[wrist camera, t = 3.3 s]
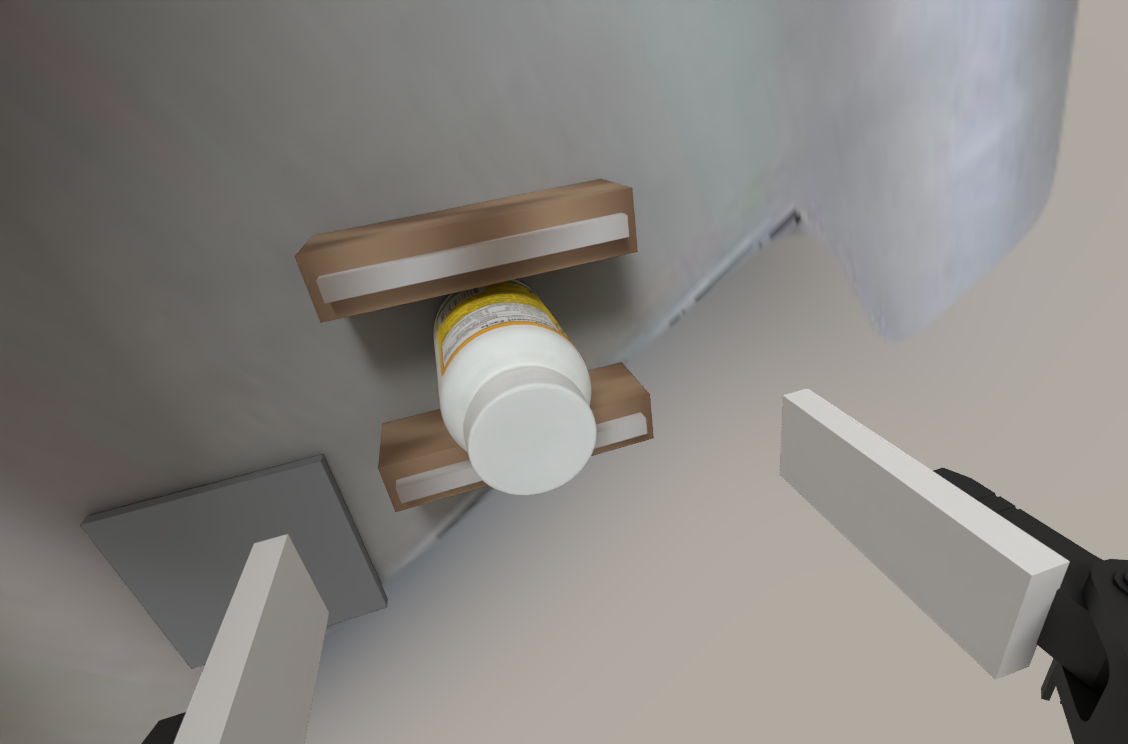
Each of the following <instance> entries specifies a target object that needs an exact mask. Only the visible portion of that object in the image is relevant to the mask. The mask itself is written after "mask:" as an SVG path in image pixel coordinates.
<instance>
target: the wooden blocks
mask: <svg viewBox="0 0 1128 744" xmlns="http://www.w3.org/2000/svg"><path fill="white" fill-rule="evenodd" d="M634 252H638V250H637V239H636V227H635V215H634V204H633V192H632V188H631V187H627V186H624V185H621V184H617V183H614V182H610V181H607V180H604V179H598V180H593V181H588V182H583V183H578V184H573V185H568V186H563V187H558V188H553V189H548V190H543V191H538V192H533V193H528V194H523V195H517V196H512V197H507V198H502V199H497V200H492V201H487V202H482V203H477V204H472V205H467V206H462V207H457V208H452V209H447V210H442V211H437V212H432V213H427V214H422V215H416V216H411V217H406V218H401V219H396V220H391V221H386V222H381V223H376V224H371V225H366V226H361V227H356V228H351V229H346V230H341V231H336V232H331V233H326V234H320V235H315V236H312V237H311V239H310V240H309V241H308V242H307V243H306V244H305V245H304V246H303V248H302V249H301V250H300V251H299V252H298V253H297V254H296V255H295V258H296V261H297V263H298V266H299V269H300V271H301V274H302V276H303V279H304V281H305V284H306V286H307V289H308V291H309V294H310V296H311V299H312V302H313V304H314V307H315V309H316V312H317V314H318V317H319V319H320V322H321V323H322V322H326V321H331V320H335V319H340V318H344V317H348V316H353V315H357V314H362V313H366V312H371V311H375V310H380V309H384V308H389V307H393V306H398V305H402V304H406V303H411V302H415V301H420V300H424V299H429V298H433V297H438V296H442V295H447V294H451V293H456V292H460V291H464V290H469V289H473V288H478V287H482V286H487V285H491V284H496V283H500V282H505V281H509V280H514V279H518V278H522V277H527V276H531V275H536V274H540V273H545V272H549V271H554V270H558V269H563V268H567V267H572V266H576V265H580V264H585V263H589V262H594V261H598V260H603V259H607V258H612V257H616V256H621V255H625V254H630V253H634ZM588 373H589V376H590V381H591V401H590V408H591V410H592V413H593V415H594V418H595V422H596V428H597V434H596V443H595V447H594V450H593V452H592V455H591V456H593V455H596V454H600V453H603V452H607V451H610V450H614V449H617V448H621V447H624V446H628V445H631V444H635V443H638V442H642V441H645V440H649V439H652V438H654V437H653V426H652V414H651V402H650V394H649V393H648V392H647V390H646V389H645V388H644V387H643V386H642V385H641V384H640V382H639V381H638V380H637V379H636V378H635V377H634V376H633V374H632V373H631V372H630V371H629V370H628V369H627V368H626V367H625V365H624V364H623V363H622V362H620V363H617V364H613V365H609V366H605V367H601V368H597V369H593V370H590V371H588ZM378 469H379V471H380V474H381V477H382V479H383V482H384V484H385V487H386V489H387V492H388V494H389V497H390V499H391V502H392V504H393V507H394V509H395V512H398V511H401V510H405V509H408V508H412V507H415V506H419V505H422V504H426V503H429V502H432V501H436V500H439V499H443V498H446V497H450V496H453V495H457V494H460V493H464V492H467V491H471V490H474V489H478V488H481V487H485V486H488V484H486V483H485V482H484V481H483V480H482V479H481V478H480V477H479V476H478V475H477V473H476V472H475V470H474V468H473V467H472V465H471V462H470V459H469V456H468V452H466V451H465V450H464V449H463V448H462V447H460V446H459V445H458V444H457V442H456V441H455V440H454V439H453V437H452V436H451V435H450V433H449V431H448V430H447V428H446V426H445V423H444V421H443V418H442V414H441V409H439V410H435V411H431V412H427V413H424V414H420V415H416V416H412V417H408V418H404V419H400V420H396V421H393V422H389V423H385V424H383V425H382V435H381V445H380V455H379V465H378Z"/></svg>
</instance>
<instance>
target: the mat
mask: <svg viewBox="0 0 1128 744" xmlns="http://www.w3.org/2000/svg"><path fill="white" fill-rule="evenodd" d="M80 526H81V527H82V529H83V530H84V531H85V532H86V534H87V535H88V536H89V538H90V539H91V540H92V541H93V543H94V544H95V545H96V547H97V548H98V549H99V550H100V552H101V553H102V554H103V556H104V557H105V558H106V559H107V561H108V562H109V563H110V565H111V566H112V567H113V569H114V570H115V571H116V572H117V574H118V575H119V576H120V578H121V579H122V580H123V581H124V583H125V584H126V585H127V587H128V588H129V589H130V590H131V592H132V593H133V594H134V596H135V597H136V598H137V600H138V601H139V602H140V603H141V605H142V606H143V607H144V609H145V610H146V611H147V612H148V614H149V615H150V616H151V618H152V619H153V620H154V621H155V623H156V624H157V625H158V627H159V628H160V629H161V630H162V632H163V633H164V634H165V636H166V637H167V638H168V640H169V641H170V642H171V643H172V645H173V646H174V647H175V649H176V650H177V651H178V652H179V654H180V655H181V656H182V658H183V659H184V660H185V661H186V663H187V664H188V665H189V667H190V668H191V669H193V668H196V667H199V666H202V665H205V664H206V661H207V659H208V657H209V654H210V652H211V649H212V647H213V644H214V642H215V639H216V637H217V634H218V632H219V629H220V627H221V624H222V622H223V619H224V617H225V614H226V612H227V609H228V607H229V604H230V602H231V599H232V597H233V594H234V592H235V589H236V587H237V584H238V582H239V579H240V577H241V574H242V572H243V569H244V567H245V565H246V562H247V560H248V557H249V555H250V552H251V550H252V547H253V545H254V543H257V542H261V541H265V540H268V539H272V538H275V537H279V536H282V535H286V534H288V535H289V537H290V539H291V541H292V543H293V545H294V547H295V549H296V550H297V552H298V554H299V556H300V558H301V560H302V562H303V564H304V566H305V568H306V570H307V572H308V573H309V575H310V577H311V579H312V581H313V583H314V585H315V587H316V589H317V591H318V593H319V595H320V596H321V598H322V600H323V602H324V604H325V606H326V608H327V610H328V612H329V615H328V621H327V626H329V625H333V624H336V623H339V622H342V621H345V620H348V619H351V618H355V617H358V616H361V615H364V614H368V613H370V612H374V611H377V610H380V609H383V608H386V607H387V601H388V599H387V596H386V594H385V592H384V590H383V587H382V585H381V583H380V581H379V578H378V576H377V574H376V572H375V569H374V567H373V565H372V563H371V560H370V558H369V556H368V554H367V552H366V549H365V547H364V545H363V543H362V540H361V538H360V536H359V534H358V531H357V529H356V527H355V525H354V523H353V520H352V518H351V516H350V514H349V511H348V509H347V507H346V505H345V503H344V500H343V498H342V496H341V494H340V491H339V489H338V487H337V485H336V482H335V480H334V478H333V476H332V474H331V471H330V469H329V467H328V465H327V462H326V460H325V458H324V456H323V454H321V455H318V456H314V457H310V458H306V459H302V460H299V461H295V462H291V463H287V464H283V465H280V466H276V467H272V468H268V469H265V470H261V471H257V472H253V473H249V474H246V475H242V476H238V477H234V478H230V479H227V480H223V481H219V482H215V483H211V484H208V485H204V486H200V487H196V488H192V489H189V490H185V491H181V492H177V493H173V494H170V495H166V496H162V497H158V498H154V499H151V500H147V501H143V502H139V503H135V504H132V505H128V506H124V507H120V508H116V509H113V510H109V511H105V512H101V513H97V514H94V515H90V516H87V517H86V519H85V520H84V521H83V522H82V523H81V525H80Z"/></svg>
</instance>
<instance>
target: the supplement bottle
mask: <svg viewBox="0 0 1128 744" xmlns="http://www.w3.org/2000/svg"><path fill="white" fill-rule="evenodd" d="M434 347H435V357H436V367H437V378H438V391H439V402H440V409H441V414H442V418H443V421H444V423H445V426H446V428H447V430H448V431H449V433H450V435H451V436H452V437H453V439H454V440H455V441H456V442H457V444H458V445H459V446H460V447H462V448H463V449H464V450H465V451H466V452H468V456H469V459H470V462H471V465H472V467H473V468H474V470H475V472H476V473H477V475H478V476H479V477H480V478H481V479H482V480H483V481H484V482H485V483H486V484H488V485H489V486H491V487H492V488H494V489H496V490H499V491H501V492H504V493H508V494H512V495H521V496H523V495H536V494H542V493H545V492H548V491H551V490H554V489H556V488H558V487H561V486H562V485H564V484H566V483H567V482H569V481H570V480H571V479H572V478H574V477H575V476H576V475H577V474H578V473H579V472H580V471H581V470H582V469H583V468H584V466H585V465H586V463H587V462H588V460H589V458H590V457H591V455H592V452H593V450H594V447H595V443H596V434H597V428H596V422H595V418H594V415H593V413H592V410H591V408H590V401H591V381H590V376H589V373H588V369H587V367H586V365H585V363H584V360H583V359H582V357H581V355H580V353H579V352H578V350H577V349H576V348H575V346H574V344H573V343H572V342H571V341H570V340H569V338H568V337H567V335H566V334H565V332H564V331H563V330H562V328H561V327H560V325H559V324H558V323H557V321H556V320H555V318H554V317H553V316H552V314H551V313H550V311H549V310H548V308H547V307H546V306H545V305H544V303H543V302H542V301H541V300H540V298H539V297H538V296H537V295H536V293H535V292H534V291H532V290H531V289H530V288H529V287H528V286H526V285H525V284H523V283H521V282H519V281H517V280H509V281H505V282H500V283H496V284H491V285H487V286H482V287H478V288H473V289H469V290H464V291H460V292H456V293H451V294H450V295H449V296H448V297H447V298H446V299H445V301H444V302H443V304H442V305H441V307H440V309H439V311H438V313H437V316H436V319H435V324H434Z"/></svg>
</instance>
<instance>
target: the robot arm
mask: <svg viewBox="0 0 1128 744" xmlns="http://www.w3.org/2000/svg"><path fill="white" fill-rule="evenodd" d="M780 476H782V477H783V478H784V479H785V480H786V481H787V482H788V483H789V484H790V485H791V486H792V487H793V488H794V489H795V490H796V491H797V492H798V493H800V495H802V497H804V498H805V499H806V500H807V501H808V502H809V503H810V504H811V505H812V506H813V507H814V508H815V509H816V510H817V511H819V513H820V514H821V515H822V516H824V517H825V518H826V519H827V520H828V521H829V522H830V523H831V524H832V525H833V526H834V527H835V528H836V529H837V530H838V531H839V532H840V533H841V534H843V535H844V536H845V537H846V538H847V539H848V540H849V541H850V542H851V543H852V544H853V545H854V546H855V547H856V548H857V549H858V550H859V551H860V552H861V553H862V554H864V555H865V556H866V557H867V558H868V559H869V560H870V561H871V562H872V563H873V564H874V565H875V566H876V567H877V568H878V569H879V570H880V571H881V572H883V573H884V574H885V575H886V576H887V577H888V578H889V579H890V580H891V581H892V582H893V583H894V584H895V585H896V586H897V587H898V588H899V589H900V590H901V591H903V592H904V593H905V594H906V595H907V596H908V597H909V598H910V599H911V600H912V601H913V602H914V603H915V604H916V605H917V606H918V607H919V608H920V609H921V610H922V611H923V612H925V613H926V614H927V615H928V616H929V617H930V618H931V619H932V620H933V621H934V622H935V623H936V624H937V625H938V626H939V627H940V628H941V629H942V630H943V631H945V632H946V633H947V634H948V635H949V636H950V637H951V638H952V639H953V640H954V641H955V642H956V643H957V644H958V645H959V646H961V648H962V649H963V650H964V651H966V652H967V653H968V654H969V655H970V656H971V657H972V658H973V659H974V660H975V661H976V662H977V663H978V664H979V665H980V666H981V667H982V668H983V669H984V670H986V671H987V672H988V673H989V674H990V675H991V676H992V677H993V678H994V679H995V680H996V679H999V678H1001V677H1004V676H1006V675H1009V674H1011V673H1014V672H1016V671H1019V670H1021V669H1024V668H1026V667H1029V665H1030V663H1031V660H1032V657H1033V655H1034V652H1035V650H1036V647H1037V645H1038V646H1040V647H1041V648H1042V649H1043V650H1044V651H1046V652H1047V653H1048V654H1049V655H1050V656H1052V657H1053V658H1054V659H1053V661H1052V664H1051V666H1050V668H1049V671H1048V673H1047V676H1046V678H1045V680H1044V683H1043V685H1042V687H1041V698H1042V699H1044V700H1048V701H1049V700H1050V698H1051V695H1052V693H1053V691H1054V689H1055V686H1056V687H1057V691H1058V693H1059V697H1060V700H1061V701H1060V704H1062V706H1063V709H1064V713H1065V716H1066V719H1067V722H1068V725H1069V729H1070V731H1071V734H1072V738H1073V741H1074V744H1128V560H1117V559H1109V560H1105V561H1104V560H1102V559H1100V558H1098V557H1096V556H1095V555H1093V554H1091V553H1090V552H1088V551H1087V550H1085V549H1083V548H1082V547H1080V546H1079V545H1077V544H1075V543H1074V542H1072V541H1071V540H1069V539H1067V538H1066V537H1064V536H1063V535H1061V534H1059V533H1058V532H1056V531H1054V530H1053V529H1051V528H1050V527H1048V526H1047V525H1045V524H1043V523H1042V522H1040V521H1039V520H1037V519H1035V518H1034V517H1032V516H1031V515H1029V514H1027V513H1026V512H1024V511H1022V510H1021V509H1016V508H1015V506H1014V505H1013V504H1012V503H1010V502H1008V501H1007V500H1005V499H1003V498H1002V497H997V496H996V495H995V493H994V492H992V491H991V490H989V489H988V488H986V487H984V486H983V485H981V484H980V483H978V482H976V481H975V480H973V479H972V478H969V477H966V476H964V475H961V474H959V473H956V472H953V471H951V470H948V469H945V468H940V469H937V470H934V471H932V470H930V469H929V468H927V467H926V466H924V465H923V464H921V463H920V462H918V461H917V460H915V459H913V458H912V457H910V456H909V455H907V454H906V453H904V452H903V451H901V450H900V449H898V448H897V447H895V446H894V445H892V444H891V443H889V442H887V441H886V440H885V439H883V438H882V437H880V436H879V435H877V434H876V433H874V432H873V431H871V430H870V429H868V428H867V427H865V426H864V425H862V424H861V423H859V422H858V421H856V420H854V419H853V418H851V417H850V416H848V415H847V414H845V413H844V412H842V411H841V410H839V409H838V408H836V407H835V406H833V405H832V404H830V403H829V402H827V401H826V400H824V399H823V398H821V397H820V396H818V395H817V394H815V393H814V392H812V391H811V390H809V389H804V390H800V391H797V392H793V393H790V394H786V395H783V407H782V430H781V455H780ZM328 615H329V612H328V610H327V608H326V606H325V604H324V602H323V600H322V598H321V596H320V595H319V593H318V591H317V589H316V587H315V585H314V583H313V581H312V579H311V577H310V575H309V573H308V572H307V570H306V568H305V566H304V564H303V562H302V560H301V558H300V556H299V554H298V552H297V550H296V549H295V547H294V545H293V543H292V541H291V539H290V537H289V535H288V534H286V535H282V536H279V537H275V538H272V539H268V540H265V541H261V542H257V543H254V545H253V547H252V550H251V552H250V555H249V557H248V560H247V562H246V565H245V567H244V569H243V572H242V574H241V577H240V579H239V582H238V584H237V587H236V589H235V592H234V594H233V597H232V599H231V602H230V604H229V607H228V609H227V612H226V614H225V617H224V619H223V622H222V624H221V627H220V629H219V632H218V634H217V637H216V639H215V642H214V644H213V647H212V649H211V652H210V654H209V657H208V659H207V661H206V664H205V666H204V669H203V671H202V674H201V676H200V679H199V681H198V684H197V686H196V689H195V691H194V694H193V696H192V699H191V701H190V704H189V706H188V709H187V711H186V712H185V713H181V714H178V715H175V716H172V717H169V718H166V719H163V720H160V721H159V722H158V723H157V724H156V725H155V727H154V728H153V729H152V731H151V732H150V733H149V735H148V736H147V737H146V738H145V740H144V741H143V742H142V744H304V743H305V738H306V731H307V727H308V722H309V716H310V711H311V705H312V700H313V695H314V690H315V684H316V679H317V674H318V668H319V663H320V657H321V652H322V647H323V642H324V637H325V631H326V626H327V621H328Z"/></svg>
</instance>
